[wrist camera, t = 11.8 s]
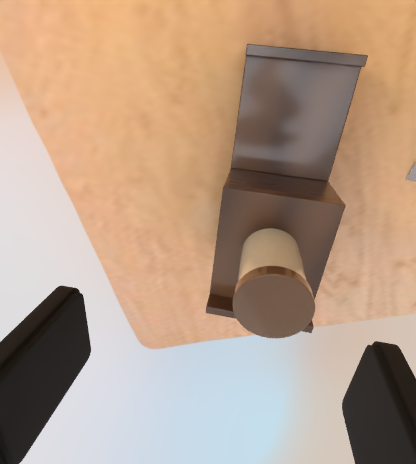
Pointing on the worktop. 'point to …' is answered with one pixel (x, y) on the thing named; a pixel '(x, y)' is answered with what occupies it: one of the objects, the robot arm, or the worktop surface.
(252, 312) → the spice jar
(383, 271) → the worktop surface
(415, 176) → the stacked layers on plate
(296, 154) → the step rack
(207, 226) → the worktop surface
